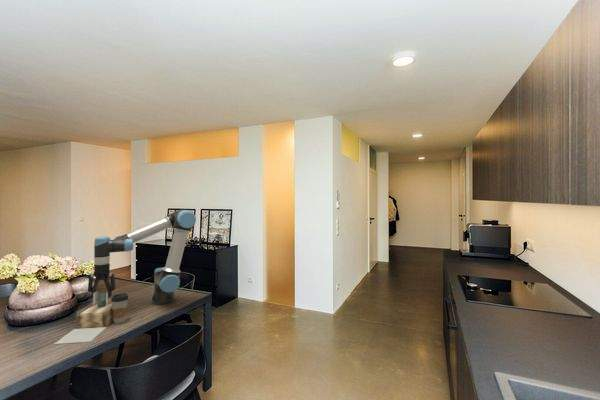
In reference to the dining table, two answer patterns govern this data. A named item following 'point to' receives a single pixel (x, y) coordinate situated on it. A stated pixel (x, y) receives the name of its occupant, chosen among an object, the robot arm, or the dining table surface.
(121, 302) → the coffee cup
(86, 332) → the mat
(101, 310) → the lid
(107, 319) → the box
